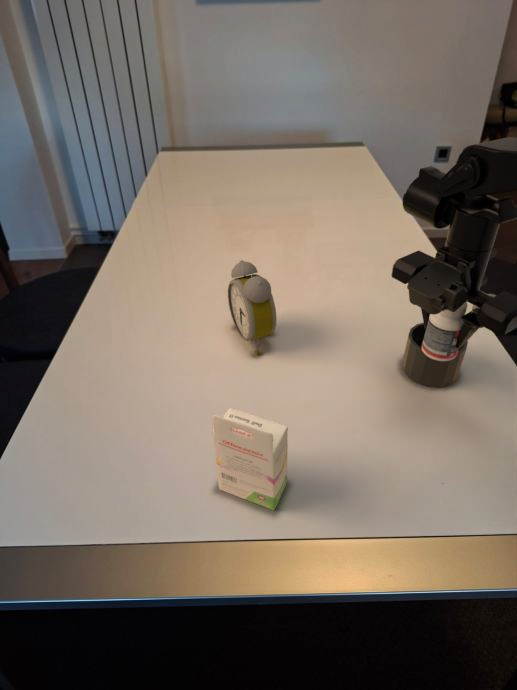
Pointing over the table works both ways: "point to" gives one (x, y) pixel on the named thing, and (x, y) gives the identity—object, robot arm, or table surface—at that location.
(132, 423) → the table surface
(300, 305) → the table surface
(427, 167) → the robot arm
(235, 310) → the alarm clock
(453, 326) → the pill bottle
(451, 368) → the pen holder
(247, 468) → the white medicine box
